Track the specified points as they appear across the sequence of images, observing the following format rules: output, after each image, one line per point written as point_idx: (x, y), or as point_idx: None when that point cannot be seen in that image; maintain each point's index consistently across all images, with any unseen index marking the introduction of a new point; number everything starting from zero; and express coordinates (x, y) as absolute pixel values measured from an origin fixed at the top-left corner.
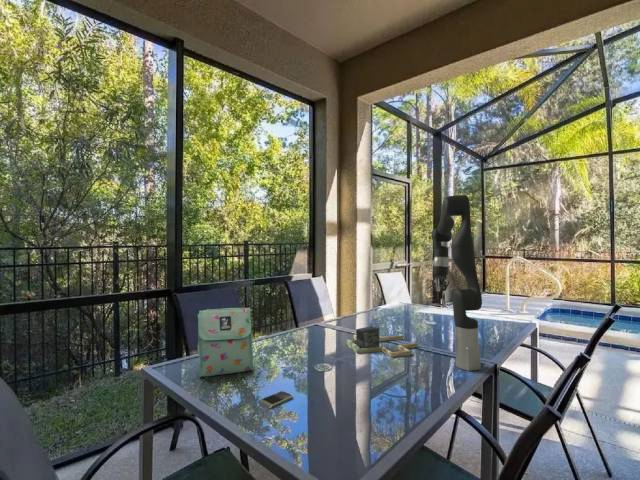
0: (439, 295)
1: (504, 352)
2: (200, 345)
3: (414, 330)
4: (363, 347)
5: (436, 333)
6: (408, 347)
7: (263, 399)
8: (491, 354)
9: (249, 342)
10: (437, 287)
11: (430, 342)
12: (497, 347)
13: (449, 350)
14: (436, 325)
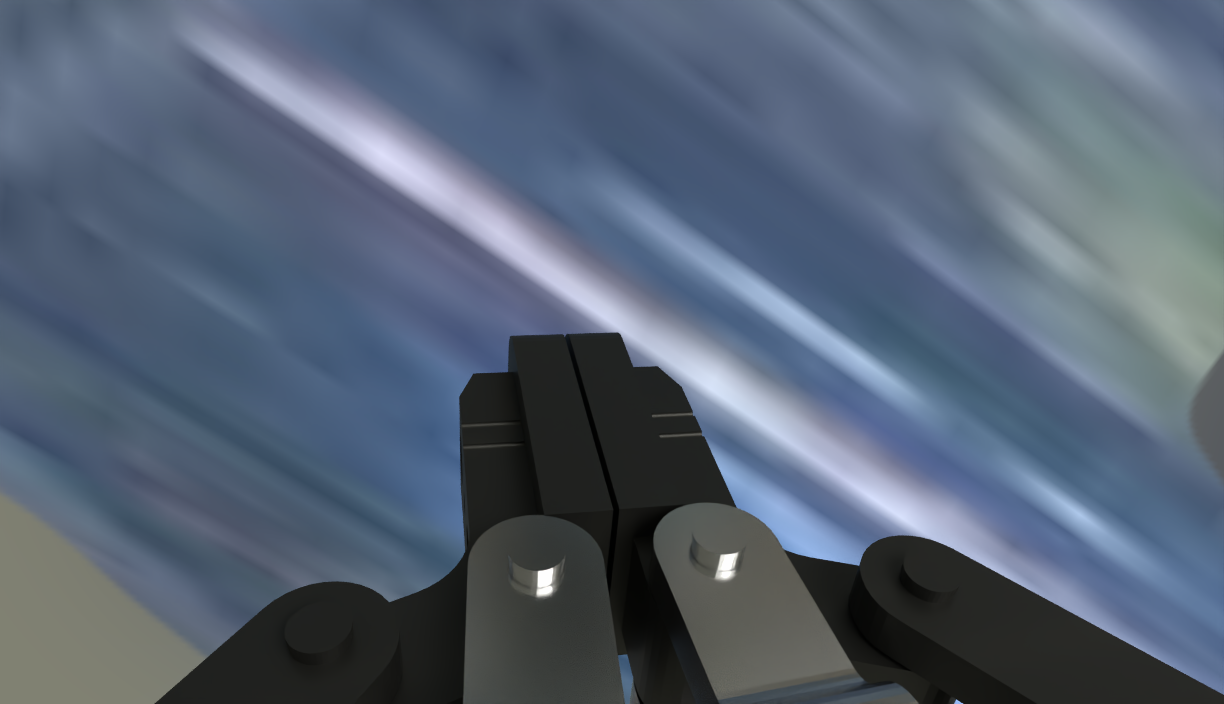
0: (519, 423)
1: (77, 548)
2: None
3: (1213, 172)
4: None
5: (955, 343)
6: None
7: None
8: (18, 399)
9: None
10: (752, 686)
11: (661, 26)
12: (257, 586)
13: (251, 39)
14: (1199, 522)
